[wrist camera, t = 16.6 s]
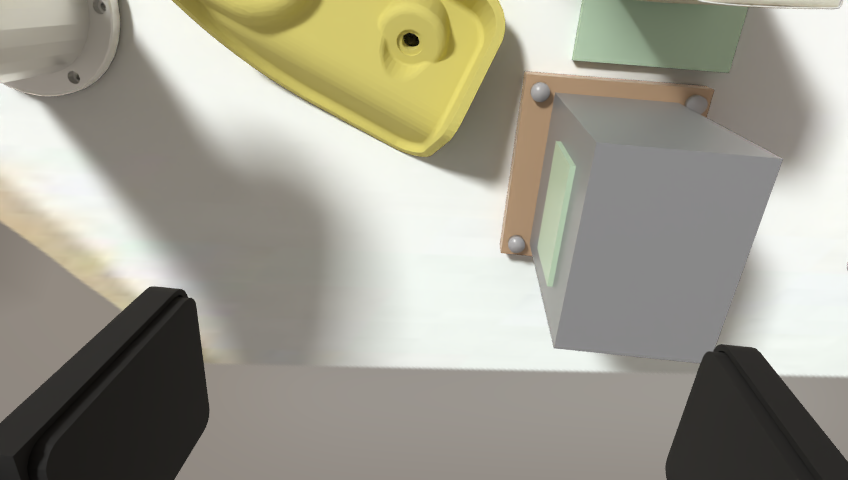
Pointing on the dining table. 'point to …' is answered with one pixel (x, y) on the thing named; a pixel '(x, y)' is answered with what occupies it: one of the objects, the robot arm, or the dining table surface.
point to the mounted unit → (632, 212)
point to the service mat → (659, 34)
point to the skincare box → (763, 3)
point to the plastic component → (367, 58)
